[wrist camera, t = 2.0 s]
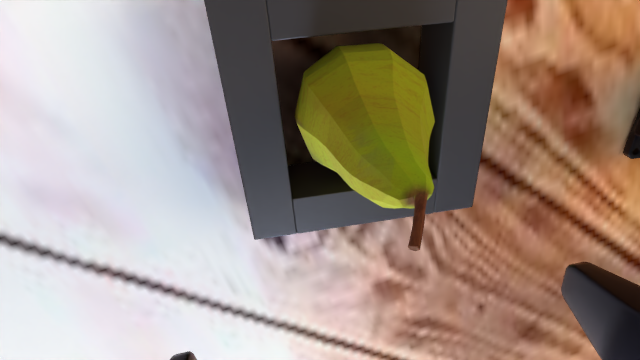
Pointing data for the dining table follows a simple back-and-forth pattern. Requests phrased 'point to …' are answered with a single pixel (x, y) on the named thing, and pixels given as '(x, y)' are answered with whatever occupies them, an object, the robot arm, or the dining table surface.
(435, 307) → the dining table surface
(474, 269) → the dining table surface
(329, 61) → the fruit
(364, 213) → the holder
